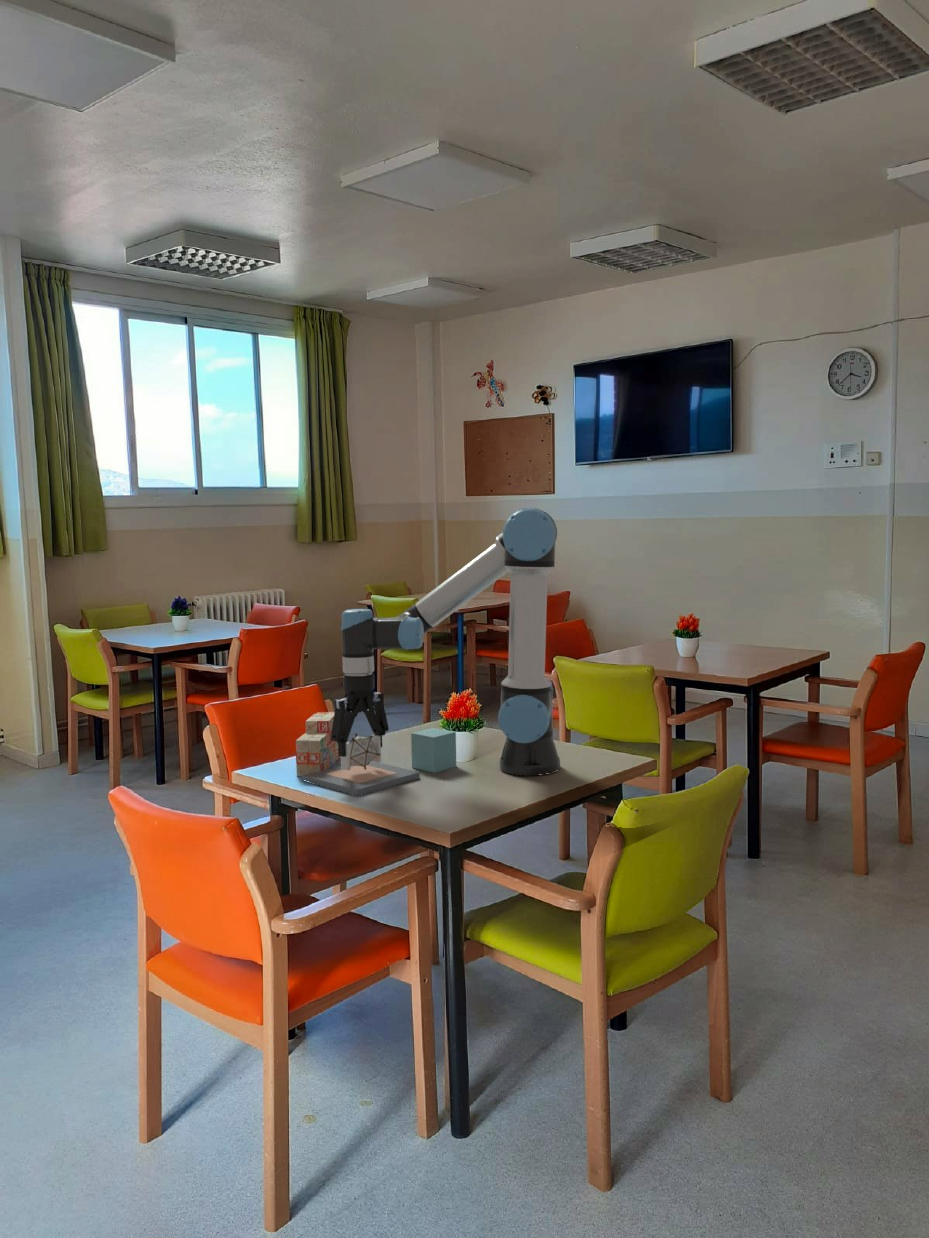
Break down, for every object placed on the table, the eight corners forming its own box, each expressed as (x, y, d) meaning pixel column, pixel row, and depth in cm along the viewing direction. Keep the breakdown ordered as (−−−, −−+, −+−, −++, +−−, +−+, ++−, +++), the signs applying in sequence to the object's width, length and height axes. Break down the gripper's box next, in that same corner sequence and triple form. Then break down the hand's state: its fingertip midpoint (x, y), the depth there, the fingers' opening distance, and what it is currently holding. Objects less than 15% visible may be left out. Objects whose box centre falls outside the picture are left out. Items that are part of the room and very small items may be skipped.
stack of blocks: (320, 777, 237) (319, 728, 236) (296, 777, 238) (294, 728, 236) (341, 756, 258) (340, 711, 257) (319, 756, 259) (317, 711, 257)
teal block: (456, 766, 245) (455, 731, 244) (434, 772, 239) (433, 737, 238) (434, 761, 250) (433, 727, 249) (411, 767, 244) (411, 733, 243)
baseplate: (419, 778, 234) (419, 771, 234) (356, 796, 219) (356, 789, 219) (365, 765, 247) (365, 759, 247) (303, 781, 233) (302, 774, 233)
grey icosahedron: (355, 780, 235) (345, 744, 239) (387, 768, 234) (377, 731, 239) (343, 771, 227) (333, 733, 231) (376, 758, 226) (365, 720, 231)
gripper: (381, 666, 241) (384, 754, 243) (312, 677, 225) (315, 771, 228) (402, 669, 236) (404, 759, 238) (333, 680, 220) (336, 776, 223)
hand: (361, 765), depth 233 cm, fingers closed on grey icosahedron, 9 cm apart
